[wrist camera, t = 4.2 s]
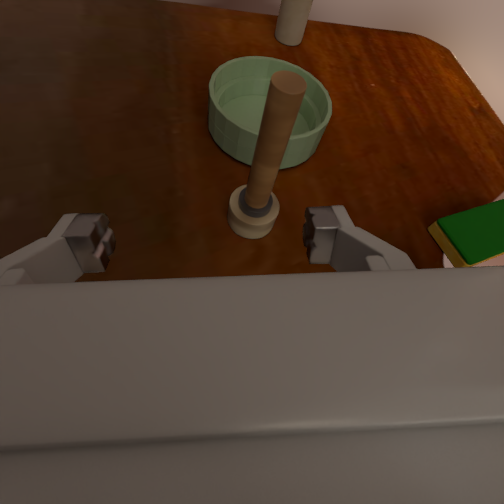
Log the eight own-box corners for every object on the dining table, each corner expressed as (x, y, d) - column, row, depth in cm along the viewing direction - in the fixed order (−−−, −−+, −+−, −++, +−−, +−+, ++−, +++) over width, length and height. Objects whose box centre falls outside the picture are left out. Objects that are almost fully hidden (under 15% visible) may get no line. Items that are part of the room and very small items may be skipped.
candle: (284, 48, 59) (300, -16, 50) (269, 32, 60) (281, -33, 52) (306, 43, 61) (325, -19, 52) (291, 28, 62) (306, -34, 54)
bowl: (185, 112, 46) (184, 73, 41) (270, 82, 53) (278, 45, 48) (254, 189, 41) (263, 157, 36) (338, 145, 48) (356, 113, 43)
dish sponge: (524, 246, 44) (540, 237, 42) (456, 272, 40) (471, 264, 38) (491, 207, 47) (505, 198, 45) (425, 228, 43) (437, 218, 41)
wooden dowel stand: (217, 212, 39) (233, 68, 22) (254, 193, 41) (292, 50, 25) (246, 247, 37) (285, 118, 21) (282, 224, 39) (343, 94, 23)
